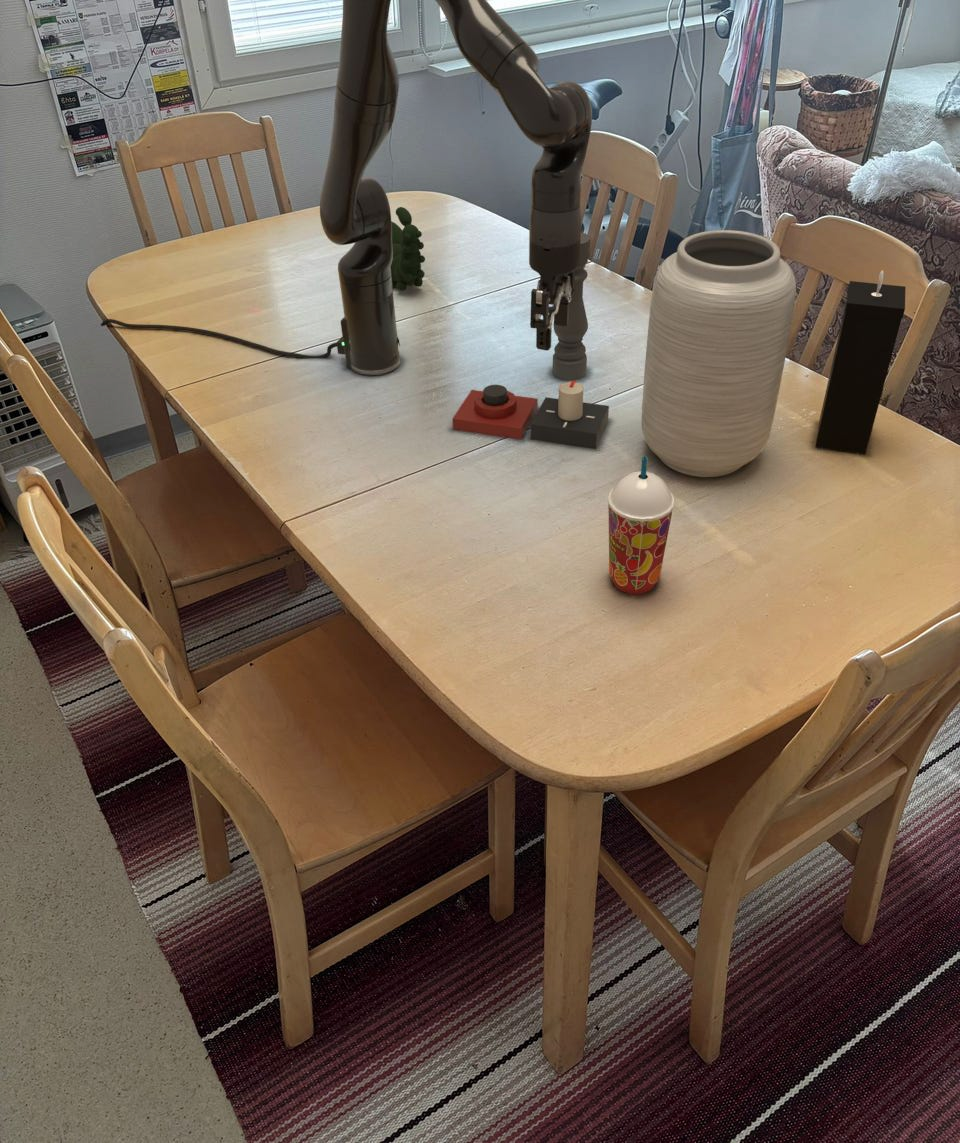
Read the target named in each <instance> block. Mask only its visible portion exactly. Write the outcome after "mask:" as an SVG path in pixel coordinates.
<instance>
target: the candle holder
mask: <svg viewBox="0 0 960 1143" xmlns="http://www.w3.org/2000/svg"><path fill="white" fill-rule="evenodd" d="M590 255H591V236H590V235H589V234H587V233H585V232H582V231H581V240H580V263H579V266H578V268H577V269H576V270H575V292H574V294H571V301H570V303H569V317H568V324H567V325H566V326H560V325H555V324H554V323H552V327H553V331H554V334H555V335H556V337H557V340H558V342H557V343H556V344H555V346H554V347H553V350H554V353H553V354H552V375H553V377H554V378H555V379H558V380H560V381H564V382H572V380H575V381H578V380H582V379H584V378H585V376H586V375H587V367H588V366H587V365H588V356H587V353H586V352H587V349H586V346H585V345H584V343H583V342H582V341H583V340H584V337H585V335H586V333H587V332H588V329H589V322H588V317H587V313H586V307H585V301H584V297H583V296H584V282H585V280H586V279H587V278H588V271H587V270H586V269H585V268H586V265H587V264H588V262H589V259H590Z"/></svg>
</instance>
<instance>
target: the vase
mask: <svg viewBox="0 0 960 1143" xmlns="http://www.w3.org/2000/svg"><path fill="white" fill-rule="evenodd" d="M796 294H797V282H796V277H795V274H794V271H793V269H792V268H791V267H790V265H789V264H788V263H787V262H786V261H785V260H784V259H782V258H781V250H780V248H779V246H778V245H777V243H775V242H774V241H772V240H771V239H769V238H768V237H765V236H762V235H760V234H757V233H753V232H748V231H743V230H742V231H741V230H732V229H715V230H706V231H702V232H698V233H694V234H691V235H689V236H687V237H685V238H684V239H683V240H682V241H680V243H679V244H678V246H677V249H676V252H674V253H672V254H670V255H669V256H668V257H666V258H665V259H664V260H663V261H662V263H660V265H659V267H658V268H657V271H656V273H655V276H654V279H653V284H652V290H651V299H650V305H649V316H648V325H647V326H648V327H647V336H646V337H647V338H646V347H645V348H646V349H645V362H644V371H643V388H642V398H641V399H642V400H641V431H642V435H643V438H644V440H645V443H646V445H648V447H649V449H650V450H651V451H652V452H653V453H654V454H655V455H656V456H657V457H658V458H659V459H660V461H661V462H662V463H663V464H665V465H666V466H667V467H669V468H670V469H672V470H673V471H676V472H678V473H681V474H683V475H687V476H691V477H692V476H693V477H699V478H717V477H722V476H726V475H729V474H732V473H734V472H736V471H738V470H739V469H740V468H742V467H743V466H745V465H747V464H749V463H750V462H752V461H753V460H754V459H756V458H757V457H758V456H759V454H761V452H763V450H764V448H765V447H766V445H767V443H768V442H769V439H770V435H771V431H772V429H773V428H772V427H773V424H774V419H775V415H776V414H775V413H776V408H777V404H778V398H779V395H780V390H781V384H782V379H783V378H782V377H783V372H784V367H785V362H786V355H787V350H788V345H789V340H790V334H791V328H792V322H793V316H794V310H795V309H794V308H795V302H796Z"/></svg>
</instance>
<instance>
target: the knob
mask: <svg viewBox="0 0 960 1143" xmlns="http://www.w3.org/2000/svg"><path fill="white" fill-rule="evenodd" d="M557 399H558V415H559V417H560V418H561V419H563V420H567V421H574V420H578V419H580V418H581V417H582V414H583V402H584V386H583V384H581V383H579V382H577V381H576V380H572V381H564V382H563V383H561V384H559V386H558V398H557Z"/></svg>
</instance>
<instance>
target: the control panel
mask: <svg viewBox="0 0 960 1143" xmlns="http://www.w3.org/2000/svg"><path fill="white" fill-rule="evenodd" d="M558 399H559V398H555V397H547V396H545V398H544V399H543V400H542V403H541V405H540V406H539V407H538V410H537V412H536V414H535V415H534V417H533V419H532V421H531V423H530V440H532V441H539V442H545V443H552V444H559V445H565V446H566V445H567V446H571V447H572V446H573V447H579V448H585V449H586V448H587V449H591V450H592V449H594V450H596V449H597V447H598V446H599V443H600V440H601V438H602V436H603V434H604V432H605V429H606V427H607V425H608V423H609V415H610V414H609V412H610V405H606V404H598V403H591V402H584V401H583V414H582V417H581V418H580V419H578V420H574V421H567V420H563V419H561V418H560V417H559V415H558Z"/></svg>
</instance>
